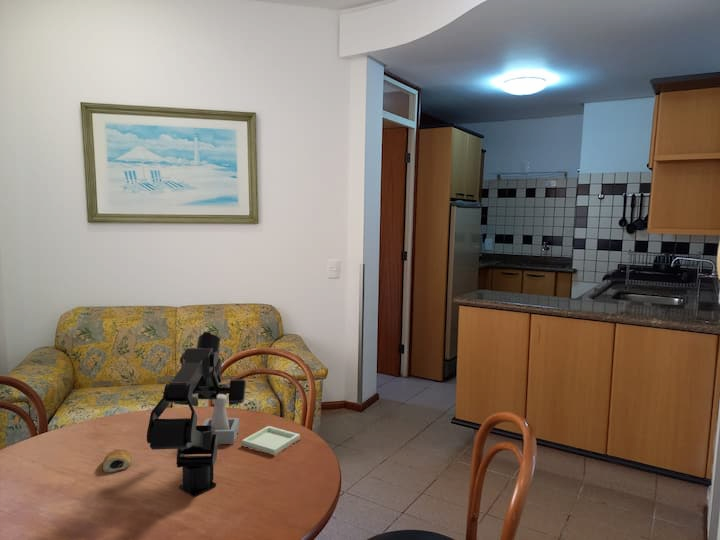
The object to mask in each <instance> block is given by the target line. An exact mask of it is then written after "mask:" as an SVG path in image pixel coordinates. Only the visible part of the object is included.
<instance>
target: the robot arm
mask: <svg viewBox="0 0 720 540" xmlns="http://www.w3.org/2000/svg"><path fill="white" fill-rule="evenodd" d="M220 344H221V337H219V336H217V335H216V334H213V333H212V332H210V331H209V332H208V331H205V332H204V331H203V332H202V334H201V335H200V336H198V338H197V344H196V347H187V348H186V349H185V351H184V352H182V355H181V357H180V359H179V362H180V364H181V367H180V368H179V370H178V372H177V373H176V374H175V376H173V378H172V380H171V381H170V382H169V383H166V384H165V385H164V391H163V396H162V398H161V399H160V400H159V402H157V404H156V405H155V406H154V407H153V409H152V410H151V412H150V417H149V421H148V422H149V423H148V424H147V425H148V426H147V429H146V431H147V432H146V443H147V444H149V447H150V449H151V450H154V451H155V450H177V453H176V467H177V468H178V469H180V468H182V483H181V484H179V485H178V489H180V490H181V491H183V492H185V493H186V494H189V496H192V497H196V496H199V495H201V494H203V493H205V492H207V491H209V490H210V489H213V488H214V487H216V486H217V483H216V482H215V481H214V466H215V463H216V460H217V457H218V435H217V434H215V430H213V428H214V427H212V426H210V425H203V424H202V425H197V424H198V415H197V412H196V410H195V409H194V407H199V400H212V399H217V395H218V394H224V395H226V394H228V406H229V407H232V406H234V405H238V404H243V403H245V400H246V399H245V398H246V390H247V389H246V388H247V381H246V380H245V379H244V378H242V379H241V378H238V379H236V378H235V379H234V378H232V379H230V381H229V382H230V383H228V384H227V383H226V384H220V383H222V370H223V368H222V359H221V358H220ZM171 403H173V404H174V405H183V406H189V407H188V408H189V410H190V412H191V413H190V418H189V417H188V418H187V417H186V418H160V417H161V415H162V414H163V413H164V411H165V410H166V409H167V408H168V406H169V405H170V404H171Z"/></svg>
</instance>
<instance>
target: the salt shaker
mask: <svg viewBox="0 0 720 540" xmlns="http://www.w3.org/2000/svg"><path fill="white" fill-rule="evenodd" d="M211 402H212V404H213V405H214V406H213V411H212V416H211V418H212V421H211V426H212V427H214V428H213V430H230V428H229V423H228V418H229V417H228V413H227V408H226V404H227V403H228V396H227V395H226V394H218V395H217V399H211Z"/></svg>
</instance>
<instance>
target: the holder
mask: <svg viewBox="0 0 720 540" xmlns="http://www.w3.org/2000/svg"><path fill="white" fill-rule="evenodd" d="M227 418H228V423H229V428H230V430H215V434H217V435H218V444H230V445H234V444H235V443H236V440H237V437H238V435H237V433H238V434H239V432H240V417H227ZM211 421H212V417H211V418H210V417H208V418H205V420H204V422H203V423H202V425H210V426H211ZM238 431H239V432H238ZM236 436H237V437H236ZM235 439H236V440H235ZM234 442H235V443H234ZM233 443H234V444H233Z"/></svg>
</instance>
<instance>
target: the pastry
mask: <svg viewBox="0 0 720 540" xmlns="http://www.w3.org/2000/svg"><path fill="white" fill-rule="evenodd" d="M102 462H103V463H102V466H103V467H102V470H103V472H105V473H113V472H117V471H121V470H126V469H128V468H129V467H130V466H131V465H132V463H133V458H132V455H131V453H130V452H128V450H126V449H118V448H117V449H113V450H112V451H110V452H109V453H107V455H105V457H104V459H103V461H102Z"/></svg>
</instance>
